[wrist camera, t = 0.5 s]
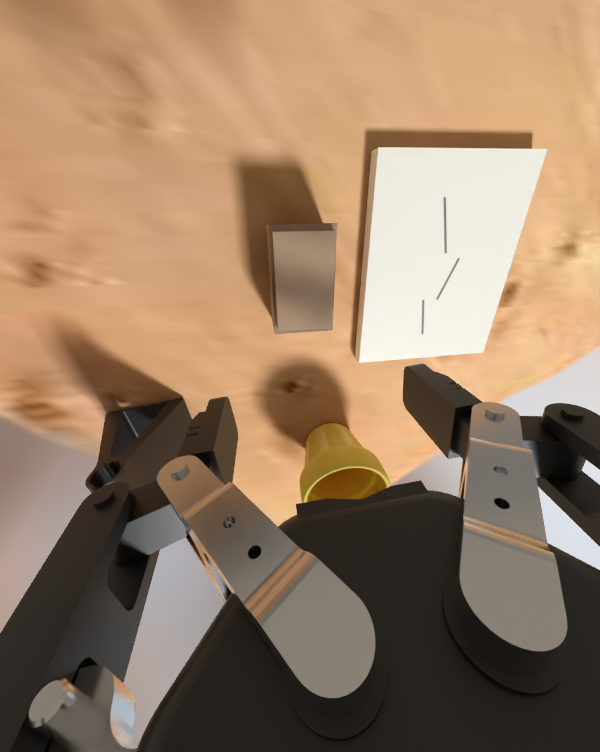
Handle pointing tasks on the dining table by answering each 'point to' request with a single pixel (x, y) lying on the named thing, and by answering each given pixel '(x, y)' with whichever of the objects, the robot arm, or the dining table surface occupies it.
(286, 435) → the dining table surface
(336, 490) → the plant pot
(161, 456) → the phone stand
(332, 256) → the block
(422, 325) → the board
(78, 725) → the robot arm
